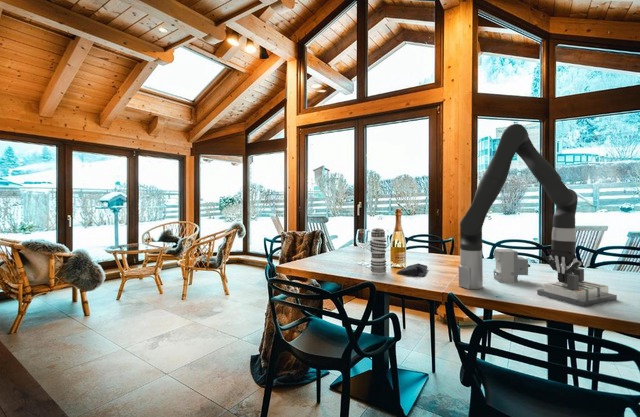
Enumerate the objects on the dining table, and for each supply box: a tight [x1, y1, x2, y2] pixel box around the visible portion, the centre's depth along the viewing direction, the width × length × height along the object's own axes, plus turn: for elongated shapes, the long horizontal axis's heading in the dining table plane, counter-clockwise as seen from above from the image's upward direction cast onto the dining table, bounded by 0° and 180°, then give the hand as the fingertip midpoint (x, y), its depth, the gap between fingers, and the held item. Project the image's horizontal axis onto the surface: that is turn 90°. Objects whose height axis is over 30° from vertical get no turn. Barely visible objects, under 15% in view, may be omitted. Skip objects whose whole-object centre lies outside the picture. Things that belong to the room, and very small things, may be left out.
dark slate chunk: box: [396, 263, 428, 278], centre depth 176 cm, size 15×22×5 cm
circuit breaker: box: [493, 248, 531, 284], centre depth 153 cm, size 8×14×15 cm, turn 78°
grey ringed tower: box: [369, 227, 387, 276], centre depth 175 cm, size 9×9×25 cm
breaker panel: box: [536, 267, 618, 308], centre depth 126 cm, size 20×17×10 cm
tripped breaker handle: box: [567, 274, 579, 289], centre depth 120 cm, size 3×2×5 cm
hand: (562, 282), depth 124 cm, fingers closed
